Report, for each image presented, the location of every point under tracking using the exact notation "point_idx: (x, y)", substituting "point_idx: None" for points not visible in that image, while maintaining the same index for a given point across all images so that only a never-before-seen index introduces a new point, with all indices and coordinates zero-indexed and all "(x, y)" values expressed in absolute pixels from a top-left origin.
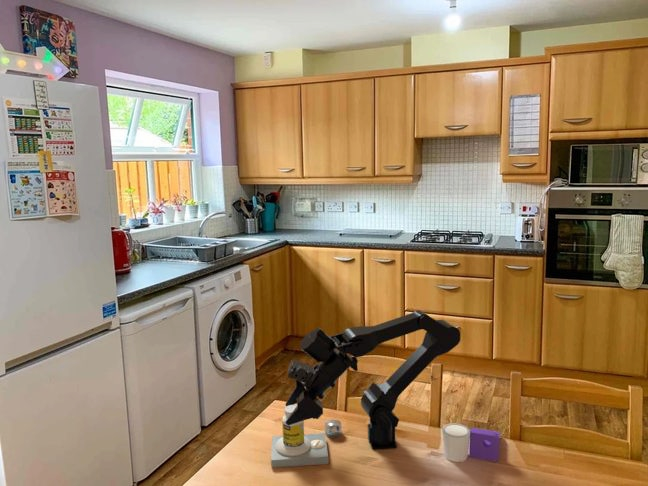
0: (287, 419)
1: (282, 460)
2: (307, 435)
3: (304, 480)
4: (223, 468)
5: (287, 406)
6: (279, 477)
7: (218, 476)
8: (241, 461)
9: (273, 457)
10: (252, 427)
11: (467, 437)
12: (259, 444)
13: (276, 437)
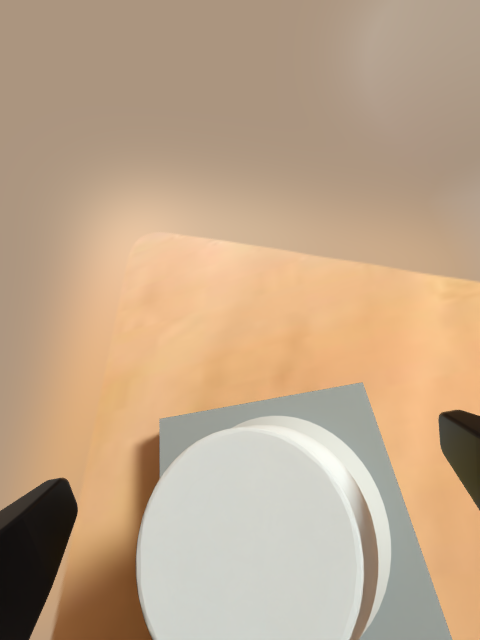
0: (21, 502)
1: (162, 474)
2: (423, 621)
3: (56, 614)
4: (180, 272)
5: (298, 455)
6: (102, 475)
7: (142, 272)
8: (217, 311)
9: (178, 426)
10: (463, 285)
11: None
12: (336, 343)
13: (353, 407)
